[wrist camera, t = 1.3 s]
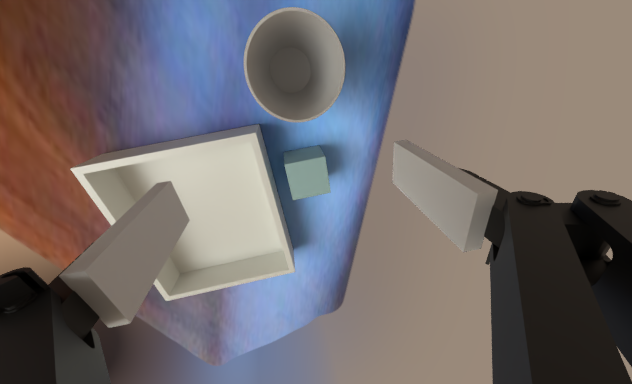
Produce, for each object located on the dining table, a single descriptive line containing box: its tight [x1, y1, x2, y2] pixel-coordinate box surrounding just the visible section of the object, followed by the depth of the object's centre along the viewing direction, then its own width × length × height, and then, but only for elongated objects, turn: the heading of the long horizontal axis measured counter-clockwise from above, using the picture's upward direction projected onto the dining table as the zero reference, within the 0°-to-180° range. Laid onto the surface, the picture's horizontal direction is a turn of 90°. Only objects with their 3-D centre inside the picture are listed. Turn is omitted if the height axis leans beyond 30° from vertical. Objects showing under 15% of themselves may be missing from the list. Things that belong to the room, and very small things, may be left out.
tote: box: [70, 124, 295, 301], centre depth 32 cm, size 22×20×5 cm
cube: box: [284, 145, 331, 200], centre depth 31 cm, size 5×5×5 cm
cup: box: [244, 7, 345, 122], centre depth 23 cm, size 8×8×10 cm
